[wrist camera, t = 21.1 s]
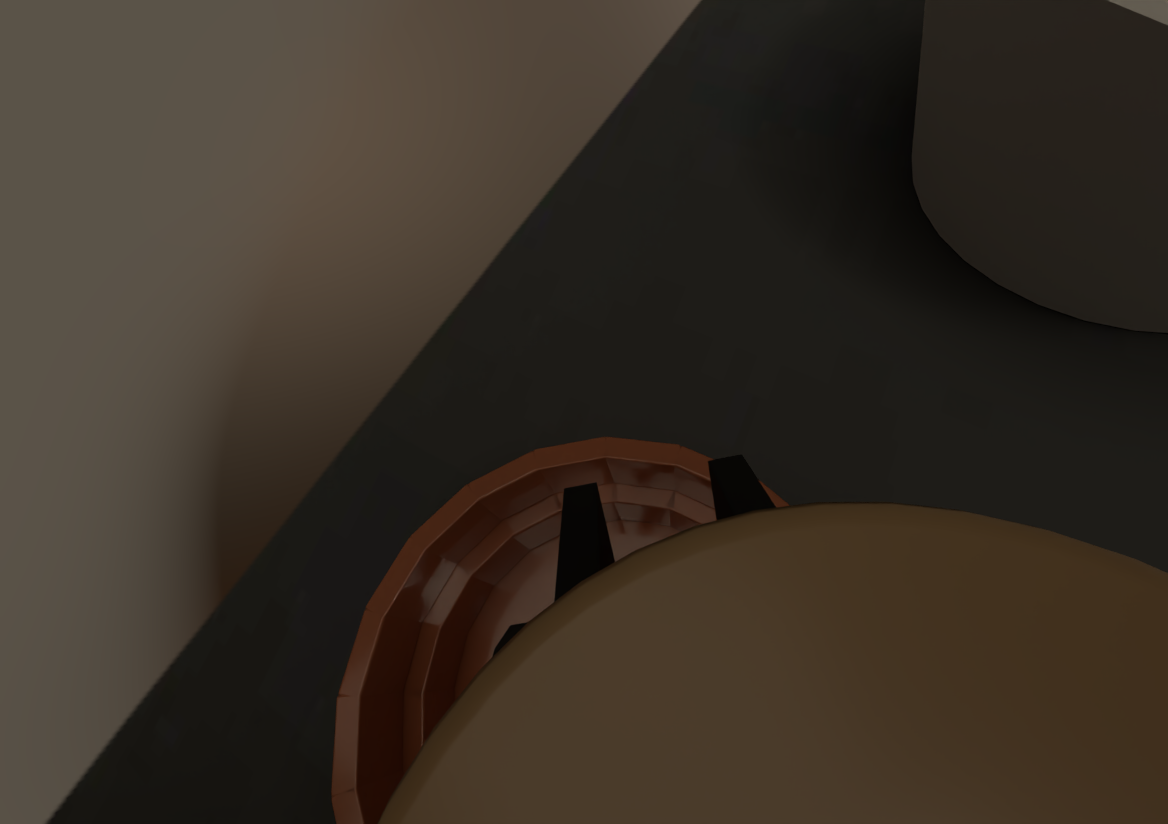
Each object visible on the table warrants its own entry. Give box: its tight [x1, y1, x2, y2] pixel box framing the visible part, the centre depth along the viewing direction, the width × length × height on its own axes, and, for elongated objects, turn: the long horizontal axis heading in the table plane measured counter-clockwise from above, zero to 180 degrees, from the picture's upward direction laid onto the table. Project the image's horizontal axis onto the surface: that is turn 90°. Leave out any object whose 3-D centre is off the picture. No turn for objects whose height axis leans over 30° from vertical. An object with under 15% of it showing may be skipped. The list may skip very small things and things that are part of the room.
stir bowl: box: [331, 437, 790, 824], centre depth 16 cm, size 14×14×6 cm
